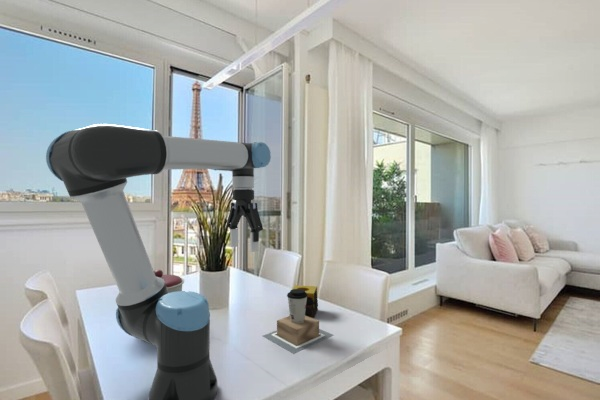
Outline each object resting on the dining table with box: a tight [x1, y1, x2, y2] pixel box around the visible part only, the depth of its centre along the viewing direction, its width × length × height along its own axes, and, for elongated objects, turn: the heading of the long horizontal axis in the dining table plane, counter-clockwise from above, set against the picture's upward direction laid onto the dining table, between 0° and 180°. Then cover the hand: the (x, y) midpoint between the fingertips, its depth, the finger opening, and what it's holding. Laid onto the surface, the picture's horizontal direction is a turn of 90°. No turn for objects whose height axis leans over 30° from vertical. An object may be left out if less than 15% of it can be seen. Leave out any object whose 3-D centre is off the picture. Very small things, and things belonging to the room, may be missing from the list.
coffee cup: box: [286, 288, 308, 324], centre depth 103 cm, size 7×7×10 cm
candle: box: [291, 285, 319, 319], centre depth 124 cm, size 10×10×10 cm
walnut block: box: [276, 315, 320, 346], centre depth 103 cm, size 10×10×5 cm
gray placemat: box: [262, 328, 334, 355], centre depth 103 cm, size 18×16×1 cm
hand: (243, 248), depth 109 cm, fingers open, 13 cm apart
